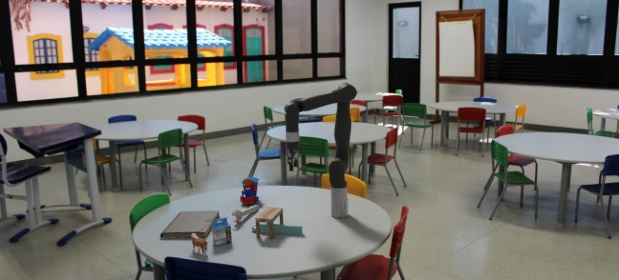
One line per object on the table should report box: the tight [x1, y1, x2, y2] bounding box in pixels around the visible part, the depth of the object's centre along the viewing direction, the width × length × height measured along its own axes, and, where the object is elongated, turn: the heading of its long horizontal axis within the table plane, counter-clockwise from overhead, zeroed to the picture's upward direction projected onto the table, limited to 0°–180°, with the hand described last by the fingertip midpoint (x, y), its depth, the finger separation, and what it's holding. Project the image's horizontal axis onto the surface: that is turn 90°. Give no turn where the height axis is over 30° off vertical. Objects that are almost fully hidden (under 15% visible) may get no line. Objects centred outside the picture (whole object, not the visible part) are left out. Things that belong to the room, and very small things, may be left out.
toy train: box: [239, 176, 260, 205], centre depth 330 cm, size 10×16×15 cm, turn 172°
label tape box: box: [211, 217, 233, 247], centre depth 266 cm, size 9×4×12 cm, turn 126°
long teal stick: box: [260, 222, 303, 235], centre depth 279 cm, size 23×2×4 cm, turn 77°
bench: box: [255, 206, 284, 240], centre depth 280 cm, size 9×18×10 cm, turn 166°
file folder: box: [159, 210, 220, 238], centre depth 292 cm, size 33×4×24 cm
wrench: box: [231, 204, 260, 224], centre depth 304 cm, size 8×2×30 cm
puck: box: [251, 225, 256, 233], centre depth 283 cm, size 4×4×2 cm
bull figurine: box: [189, 233, 208, 256], centre depth 257 cm, size 4×13×8 cm, turn 41°
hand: (293, 169), depth 289 cm, fingers open, 8 cm apart
